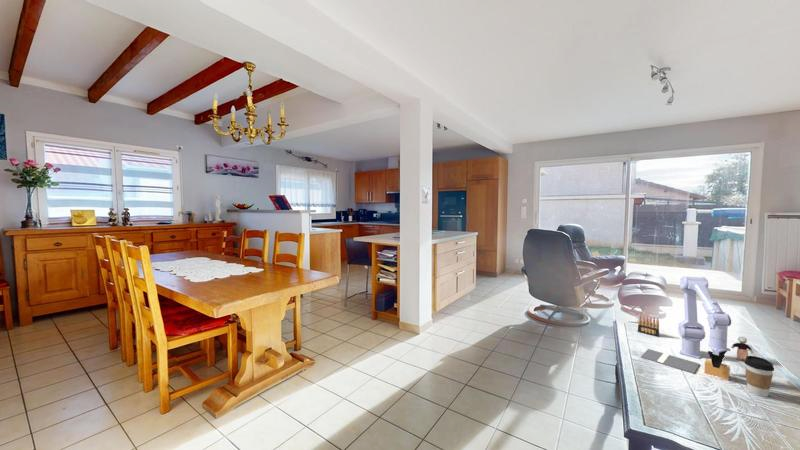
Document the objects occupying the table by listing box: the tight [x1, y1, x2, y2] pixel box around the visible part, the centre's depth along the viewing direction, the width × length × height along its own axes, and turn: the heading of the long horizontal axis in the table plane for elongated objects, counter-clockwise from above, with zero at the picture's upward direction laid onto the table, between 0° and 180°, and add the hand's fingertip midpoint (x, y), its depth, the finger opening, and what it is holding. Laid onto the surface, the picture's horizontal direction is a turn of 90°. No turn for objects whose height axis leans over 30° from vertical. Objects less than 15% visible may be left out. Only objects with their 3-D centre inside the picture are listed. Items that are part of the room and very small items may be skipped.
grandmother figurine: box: [730, 336, 754, 362], centre depth 158 cm, size 8×4×13 cm, turn 54°
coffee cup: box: [743, 355, 775, 398], centre depth 130 cm, size 8×8×15 cm
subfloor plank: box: [640, 348, 700, 375], centre depth 158 cm, size 14×21×1 cm, turn 37°
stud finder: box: [704, 359, 731, 381], centre depth 144 cm, size 4×8×6 cm, turn 37°
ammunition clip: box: [637, 314, 660, 338], centre depth 192 cm, size 11×2×12 cm, turn 38°
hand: (717, 364), depth 144 cm, fingers open, 7 cm apart
